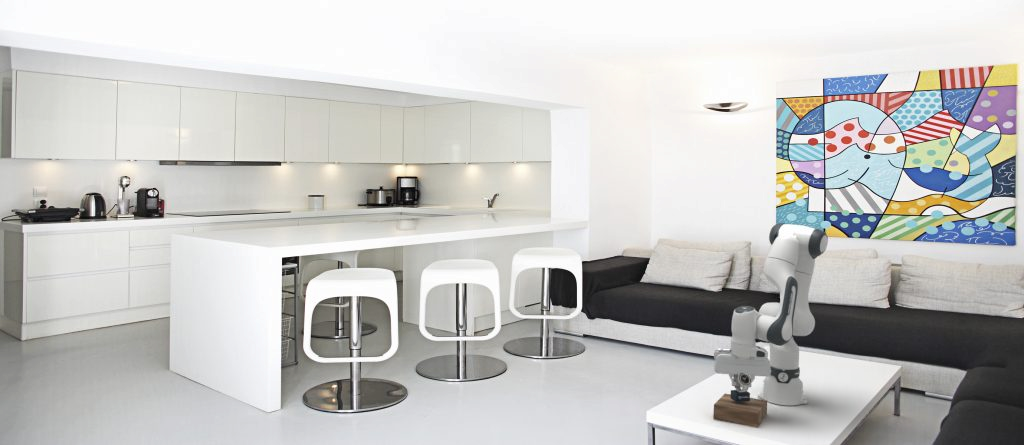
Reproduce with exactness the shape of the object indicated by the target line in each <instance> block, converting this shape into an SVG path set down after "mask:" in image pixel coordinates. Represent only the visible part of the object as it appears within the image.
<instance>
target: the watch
mask: <svg viewBox="0 0 1024 445" xmlns="http://www.w3.org/2000/svg"><path fill="white" fill-rule="evenodd" d="M732 378H733V380H735V381H736V386H733V387H734V389H730V394H731V396H730V398H731V399H732V400H734V401H736V402H743V401H750V398H751V393H750V392H749V391H748V390H749V388H750V387H749V386H750V383H751V380H752V379H751V377H750V375H747V374H744V373H741V374H740V373H739V374H738V375H733V377H732ZM751 384H752V383H751Z"/></svg>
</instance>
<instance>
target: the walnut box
mask: <svg viewBox="0 0 1024 445" xmlns="http://www.w3.org/2000/svg"><path fill="white" fill-rule="evenodd" d="M730 396H731V393H730V394H729V393H724V394H723V395H722V396H721V397H720V398H719V399H717V400H716V402H715V403H713V416H712V417H713V418H712V419H713V420H714V421H720V422H725V423H731V424H736V425H742V426H746V427H751V428H756V429H757V428H759V426H761V424H762V422H763V421H764V420H765V418H766V417H767V416H768V401H766V400H764V399H761V398H755V397H750V401H743V402H736V401H734V400H732V399H731V398H730ZM766 415H767V416H766ZM763 419H764V420H763Z"/></svg>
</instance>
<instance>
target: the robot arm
mask: <svg viewBox="0 0 1024 445" xmlns="http://www.w3.org/2000/svg"><path fill="white" fill-rule="evenodd" d="M768 235H769V237H768V240H769V243H770V249H769V251H768V253H767V256H766V259H765V261H764V265H763V274H764V276H765V278H766V279H767V281H768V282H769V283H770V284H772V286H775V287H776V288H777V289H778V290H779V292H780V300H779V302H766V303H763V304H762V305H761V306H760V309H759V310H758V311H757V310H756V308H755V307H754V306H750V305H741V306H738V307H736V308H735V309H734V310H733V314H732V316H731V334H732V336H731V339H730V348H718V349H715V351H714V352H713V358H714V365H713V371H714V372H715V373H716V374H721V375H728V376H729V378H730V380H731V386H732V387H734V386H736V381H735V380H733V376H734V375H738V374H739V373H740V374H741V373H744V374H747V375H749V376H750V378H751V379H752V380H751V383H750V386H749V388H751V387H752V383H753V382H754V381H755V379H756V377H764V378H763V381H762V382H763V385H762V391H761V392H759V394H758V395H757V399H761V400H766V401H767V403H771V404H774V405H778V406H779V405H780V406H789V407H790V406H798V405H807V404H808V403H809V402H808V399H807V398H806V397H805V395H804V383H803V381H802V380H801V379H800V373H801V369H800V366H799V364H800V348H799V346H798V344H797V343H796V341H795V340H794V337H793V336H795V337H806V336H808V335H810V334H811V333H812V332H813V331H814V330H815V325H816V320H815V317H814V315H813V314H812V312H811V310H810V306H809V293H810V287H811V283H812V279H813V275H814V269H815V264H816V259H817V257H820V256H821V255H822V254H824V253H825V251H826V250H827V247H828V242H829V238H828V235H827V233H826V231H824V230H822V229H820V228H814V227H811V226H807V225H804V224H803V225H802V224H800V225H799V224H792V223H788V224H787V223H786V222H779V223H776V224H774V225H773V226H772V228H771V229H770V231H769V234H768ZM756 340H761V341H763V342H768V343H769V352H768V350H766V349H765V348H764V347H760V346H759V345H756V344H757V343H756ZM768 357H769V358H768Z"/></svg>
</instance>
